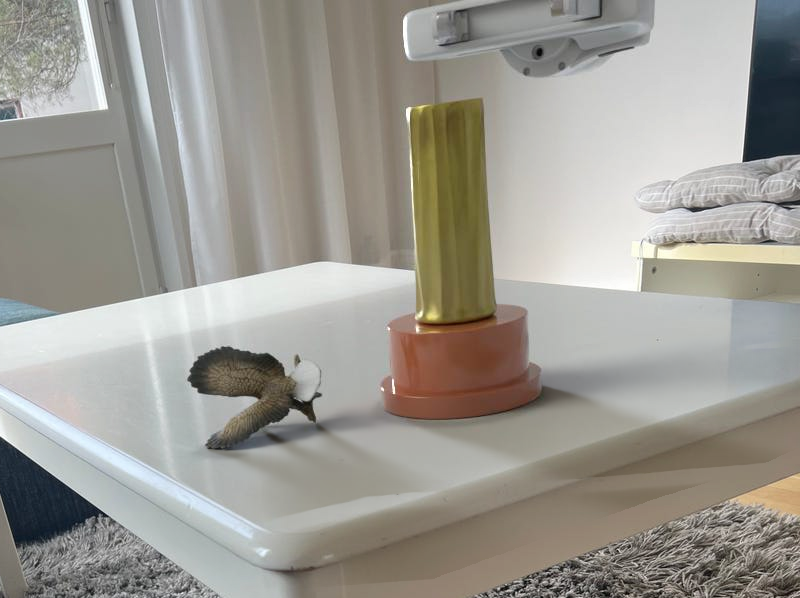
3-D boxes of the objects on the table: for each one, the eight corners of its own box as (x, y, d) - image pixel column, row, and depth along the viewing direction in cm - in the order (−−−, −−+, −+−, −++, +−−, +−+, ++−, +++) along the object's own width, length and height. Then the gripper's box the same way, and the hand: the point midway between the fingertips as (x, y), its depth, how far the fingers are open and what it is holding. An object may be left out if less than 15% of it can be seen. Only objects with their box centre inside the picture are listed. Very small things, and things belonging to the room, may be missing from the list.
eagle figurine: (285, 394, 79) (179, 397, 75) (309, 322, 73) (196, 321, 70) (318, 462, 75) (208, 469, 71) (346, 391, 70) (229, 394, 66)
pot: (532, 370, 81) (531, 294, 78) (550, 409, 70) (549, 323, 67) (384, 385, 83) (377, 311, 80) (379, 425, 72) (371, 341, 69)
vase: (505, 317, 71) (498, 95, 64) (421, 328, 71) (406, 107, 64) (486, 305, 76) (478, 98, 70) (409, 315, 76) (394, 110, 70)
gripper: (433, -2, 88) (369, -9, 77) (671, -50, 78) (635, -67, 68) (438, 79, 90) (377, 82, 80) (668, 41, 81) (633, 39, 70)
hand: (498, 13), depth 74 cm, fingers open, 8 cm apart
